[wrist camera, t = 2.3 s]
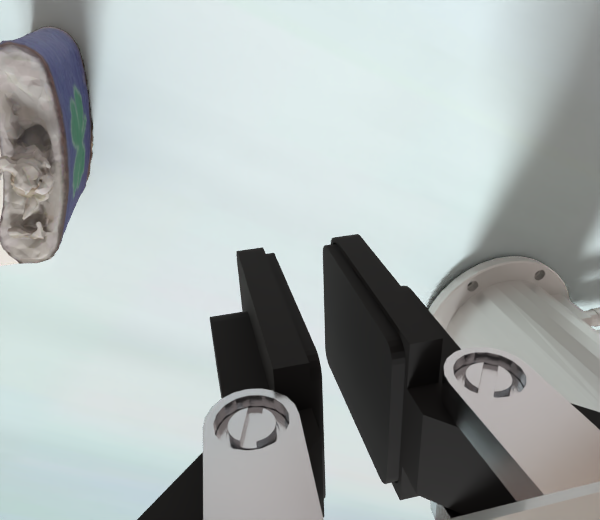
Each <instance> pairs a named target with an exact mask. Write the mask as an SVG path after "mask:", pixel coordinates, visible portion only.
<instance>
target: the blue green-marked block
mask: <svg viewBox="0 0 600 520" xmlns="http://www.w3.org/2000/svg"><path fill="white" fill-rule="evenodd" d="M84 70H85V69H84V63H83V60H82V56H81V54H80V50H79V48H78V46H77V44H76V43H75V41H74V40H73V38H72V37H71V36H70V35H69V34H68V33H67V32H65V31H64V30H61V29H59V28H55V27H50V26H49V27H41V28H40V29H38V30H36V31H34V32H32V33H29V34H27V35H25V36H23V37H21V38H18V39H15V40H9V41H2V42H1V43H0V151H1V157H0V180H1V176H2V172H3V208H2V214H1V219H0V244H1V246H2V248H3V250H5V251H6V252H7V253H8V255H9V256H11V257H12V258H14V259H15V260H16V261H17V262H18V263H19V264H20V263H39V262H43V261H46V260H48V259H50V258H51V257H53V256H54V254H55V252H56V251H57V250H58V249H59V245H60V243H61V241H62V238H63V234H64V232H65V230H66V227H67V224H68V222H69V220H70V218H71V215H72V213H73V210H74V208H75V206H76V203H77V201H78V199H79V197H80V195H81V194H82V192H83V190H84V188H85V187H86V181H87V180H88V177H89V174H90V172H89V171H90V163H91V158H92V154H93V153H92V152H91V151H92V147H93V143H92V142H93V136H92V130H93V123H92V119H91V114H90V110H91V109H90V103H89V95H88V94H89V92H88V90H87V79H86V73H85V71H84Z"/></svg>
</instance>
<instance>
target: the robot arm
mask: <svg viewBox="0 0 600 520" xmlns="http://www.w3.org/2000/svg"><path fill="white" fill-rule="evenodd" d="M237 264H238V274H239V283H240V292H241V301H242V310H243V312H239V313H232V314H226V315H220V316H214V317H210V323H211V330H212V337H213V344H214V351H215V358H216V365H217V372H218V378H219V385H220V392H221V398H222V399H221V400H219V401H218V402H217V403H216V404H215V405H214V406H212V407H211V409H210V410H209V412H208V414H207V415H206V417H205V420H204V425H203V453H202V454H201V455H200V456H199V457H198V458H197V459H196V460H195V461H194V462H193V463H192V464H191V465H190V466H189V467H188V468H187V469H186V470H185V471H184V472H183V473H182V474H181V475H180V476H179V477H178V478H177V479H176V480H175V481H174V482H173V483H172V484H171V486H170V487H169V488H168V489H167V490H166V491H165V492H164V493H163V494H162V495H161V496H160V497H159V498H158V499H157V500H156V501H155V502H154V503H153V504H152V505H151V506H150V507H149V508H148V509H147V510H146V511H145V512H144V513H143V514H142V515H141V516H140V517H139V518H138V519H137V520H323V517H324V498H325V462H324V429H323V395H322V373H321V366H320V361H319V357H318V353H317V351H316V348H315V346H314V344H313V341H312V339H311V337H310V334H309V332H308V330H307V327H306V325H305V323H304V321H303V318H302V316H301V314H300V311H299V309H298V307H297V305H296V302H295V300H294V298H293V295H292V293H291V291H290V288H289V286H288V284H287V282H286V279H285V277H284V275H283V272H282V270H281V268H280V265H279V263H278V261H277V259H276V256H275V254H274V253H270V254H265V251H264V249H263V248H256V249H249V250H242V251H237ZM323 274H324V313H325V349H326V356H327V360H328V364H329V366H330V368H331V371H332V373H333V375H334V377H335V379H336V382H337V384H338V386H339V388H340V391H341V393H342V395H343V397H344V399H345V402H346V404H347V406H348V408H349V410H350V413H351V415H352V417H353V419H354V422H355V424H356V426H357V428H358V430H359V433H360V435H361V437H362V439H363V441H364V444H365V446H366V448H367V450H368V453H369V455H370V457H371V459H372V461H373V464H374V466H375V468H376V470H377V472H378V475H379V477H380V479H381V481H382V482H383V483H384V484H387V483H391V482H392V484H393V486H394V489H395V491H396V493H397V495H398V497H399V499H400V500H403V499H408V498H412V497H416V496H421V497H424V498H426V499H428V500H430V504H431V511H432V513H433V516H434V518H435V520H600V330H594V329H593V328H592V327H591V326H595V327H596V326H600V307H599V308H594V309H590V310H588V311H583V310H582V309H580V308H579V307H578V306H576V305H575V304H574V303H572V302H571V301H570V298H569V292H568V290H567V288H566V285H565V283H564V281H563V280H562V279H561V278H560V276H559V275H558V274H557V273H556V272H554V271H553V270H552V269H551V268H549V267H548V266H547V265H545V264H543V263H541V262H539V261H537V260H535V259H531V258H527V257H523V256H507V257H501V258H495V259H492V260H489V261H486V262H483V263H480V264H478V265H476V266H474V267H472V268H471V269H469V270H467V271H465V272H464V273H462V274H461V275H460V276H458V277H457V278H455V279H454V280H453V281H452V282H451V283H450V284H449V285H448V286H447V287H445V288H444V289H443V290H442V291H441V292H440V294H439V295H438V296H437V298H436V299H435V300H434V302H433V303H432V304H431V306H430V308H429V310H428V309H427V308H426V307H425V305H424V304H423V303H422V302H421V301H420V299H419V298H418V297H417V296H416V295H415V293H414V292H413V291H412V290H411V289H410V288H409V287H408V286H400V285H399V283H398V282H397V281H396V280H395V278H394V277H393V276H392V275H391V273H390V272H389V271H388V270H387V268H386V267H385V266H384V265H383V264H382V262H381V261H380V260H379V259H378V257H377V256H376V255H375V254H374V252H373V251H372V250H371V249H370V247H369V246H368V245H367V244H366V243H365V241H364V240H363V239H362V238H361V236H360V235H358V234H356V235H349V236H342V237H335V238H332V240H331V245H326V246H324V248H323Z"/></svg>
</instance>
